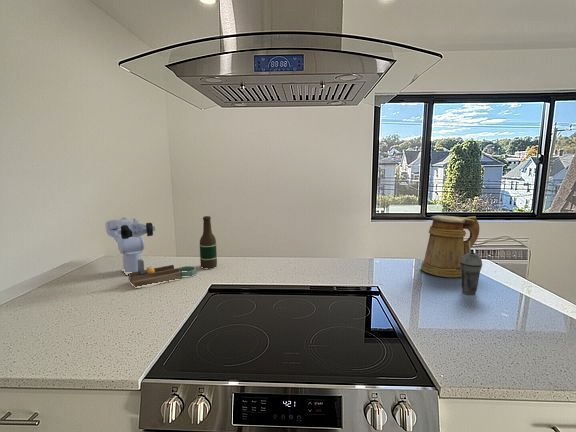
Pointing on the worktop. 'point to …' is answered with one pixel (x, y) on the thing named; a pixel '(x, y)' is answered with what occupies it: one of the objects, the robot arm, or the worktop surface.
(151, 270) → the ball
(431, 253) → the tankard
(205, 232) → the beer bottle
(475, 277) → the beverage cup
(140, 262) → the gray l-shaped bracket
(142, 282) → the brown wooden moulding block
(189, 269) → the teal shallow dish
